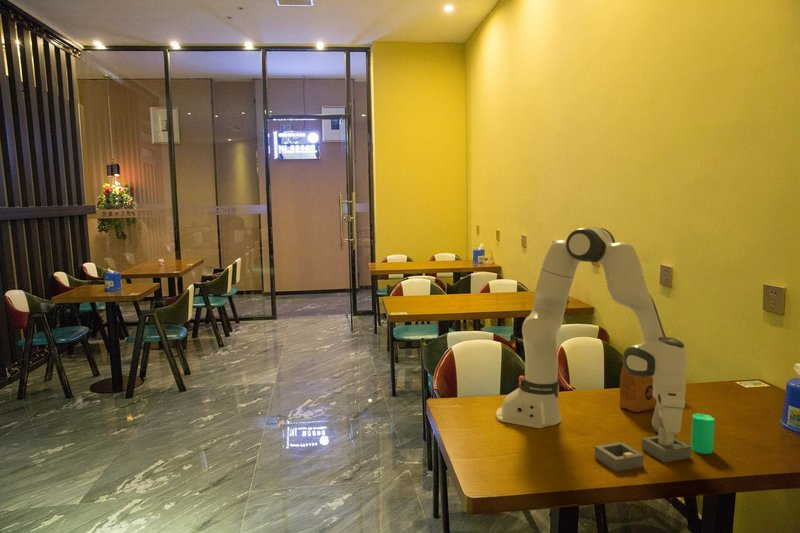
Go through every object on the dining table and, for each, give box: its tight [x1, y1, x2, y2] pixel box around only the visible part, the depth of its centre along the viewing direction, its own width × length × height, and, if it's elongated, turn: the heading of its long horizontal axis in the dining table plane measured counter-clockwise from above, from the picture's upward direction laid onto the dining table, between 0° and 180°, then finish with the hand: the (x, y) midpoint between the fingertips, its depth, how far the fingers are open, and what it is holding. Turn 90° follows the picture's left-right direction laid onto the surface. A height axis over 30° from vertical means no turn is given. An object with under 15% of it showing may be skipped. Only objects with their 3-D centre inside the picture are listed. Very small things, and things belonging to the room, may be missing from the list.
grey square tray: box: [641, 435, 692, 463], centre depth 171 cm, size 10×10×4 cm
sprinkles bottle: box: [657, 409, 675, 448], centre depth 171 cm, size 5×5×14 cm
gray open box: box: [594, 441, 645, 472], centre depth 166 cm, size 10×10×4 cm
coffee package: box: [619, 364, 657, 413], centre depth 208 cm, size 10×12×22 cm
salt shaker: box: [651, 398, 659, 433], centre depth 188 cm, size 6×6×13 cm
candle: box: [690, 411, 716, 455], centre depth 173 cm, size 6×6×12 cm
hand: (666, 436), depth 171 cm, fingers open, 8 cm apart
